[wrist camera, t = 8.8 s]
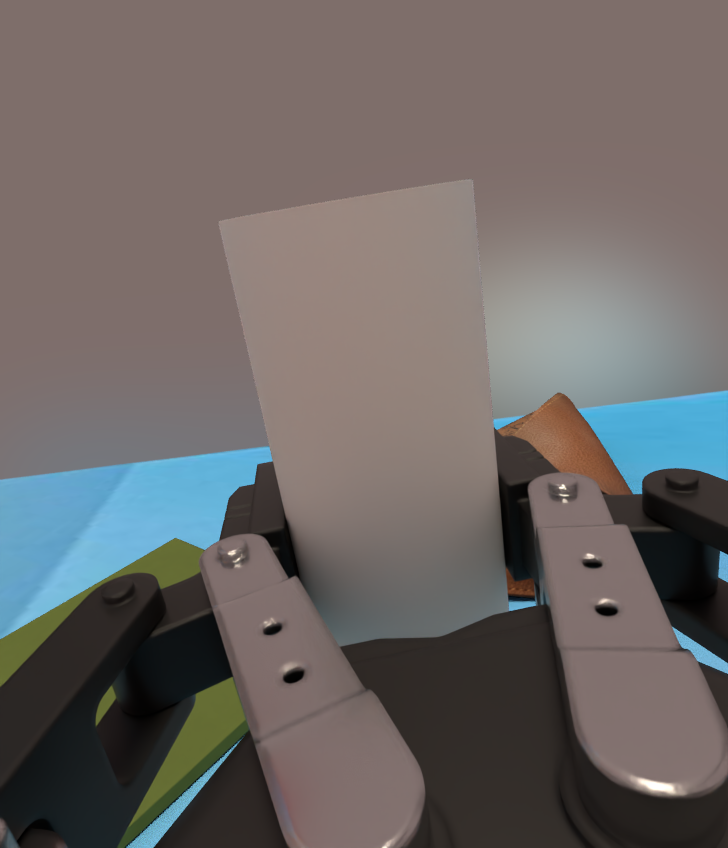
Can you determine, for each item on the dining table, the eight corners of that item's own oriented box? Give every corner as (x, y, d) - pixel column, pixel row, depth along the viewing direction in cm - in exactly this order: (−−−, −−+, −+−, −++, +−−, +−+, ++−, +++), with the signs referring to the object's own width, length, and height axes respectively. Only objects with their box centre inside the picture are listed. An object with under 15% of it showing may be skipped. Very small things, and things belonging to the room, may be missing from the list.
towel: (178, 545, 37) (175, 537, 36) (360, 625, 27) (358, 614, 27) (-295, 826, 22) (-304, 814, 22) (-261, 1211, 13) (-275, 1198, 12)
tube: (324, 841, 15) (166, 229, 10) (419, 722, 18) (335, 204, 13) (472, 957, 12) (359, 194, 7) (555, 794, 15) (519, 171, 10)
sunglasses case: (458, 442, 43) (499, 362, 41) (544, 479, 44) (590, 401, 41) (473, 597, 27) (545, 479, 24) (612, 654, 27) (697, 543, 25)
